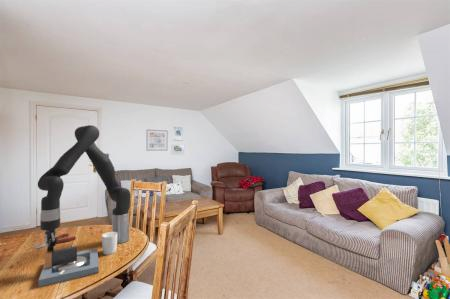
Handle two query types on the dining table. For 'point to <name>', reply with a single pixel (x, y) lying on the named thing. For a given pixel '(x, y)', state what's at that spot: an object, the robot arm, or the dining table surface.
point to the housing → (71, 270)
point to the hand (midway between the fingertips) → (50, 254)
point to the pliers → (58, 240)
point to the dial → (64, 259)
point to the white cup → (109, 242)
